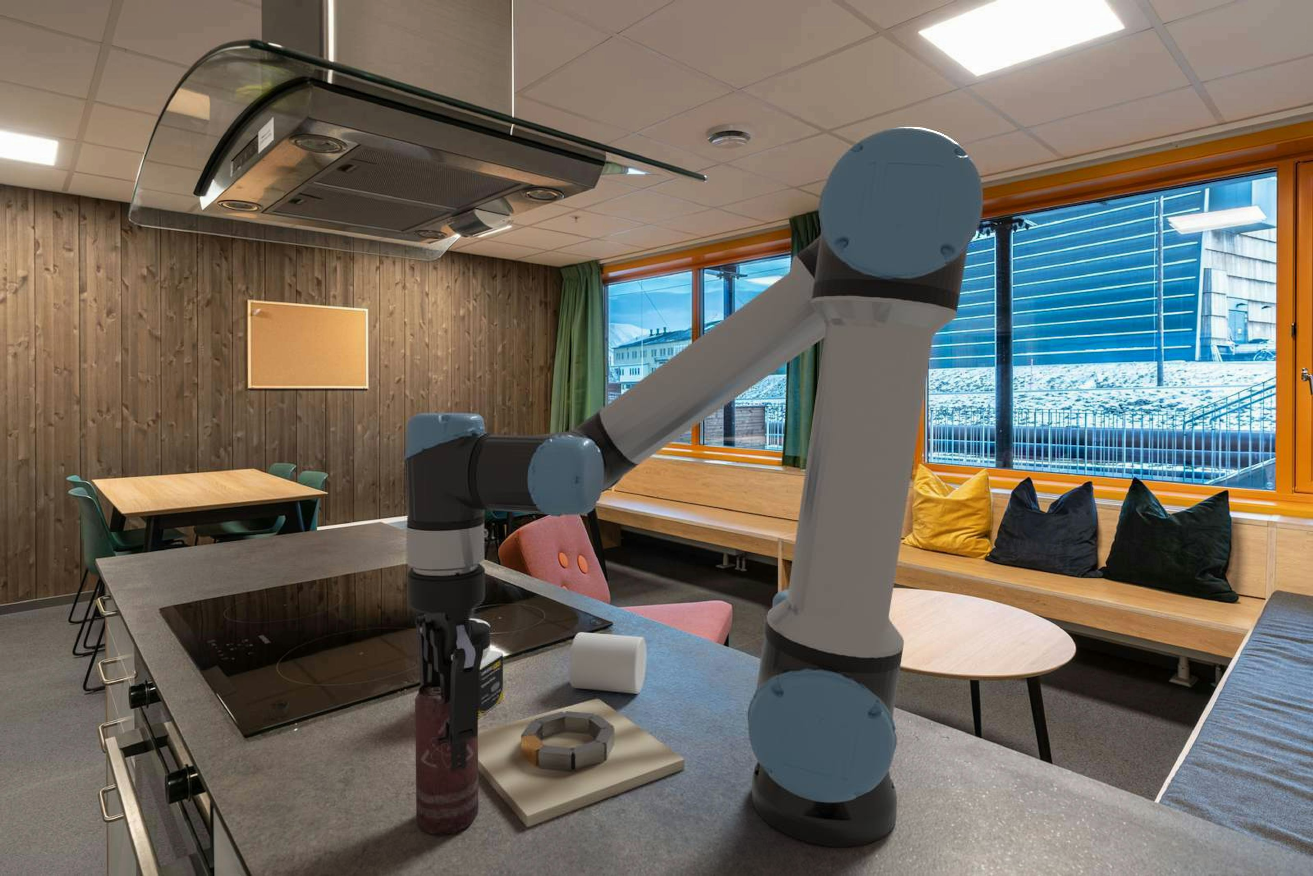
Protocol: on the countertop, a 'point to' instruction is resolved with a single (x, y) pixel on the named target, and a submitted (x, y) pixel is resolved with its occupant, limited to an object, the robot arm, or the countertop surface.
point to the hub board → (562, 791)
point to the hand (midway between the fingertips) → (448, 790)
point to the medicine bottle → (488, 668)
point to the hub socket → (565, 756)
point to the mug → (607, 662)
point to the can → (442, 770)
